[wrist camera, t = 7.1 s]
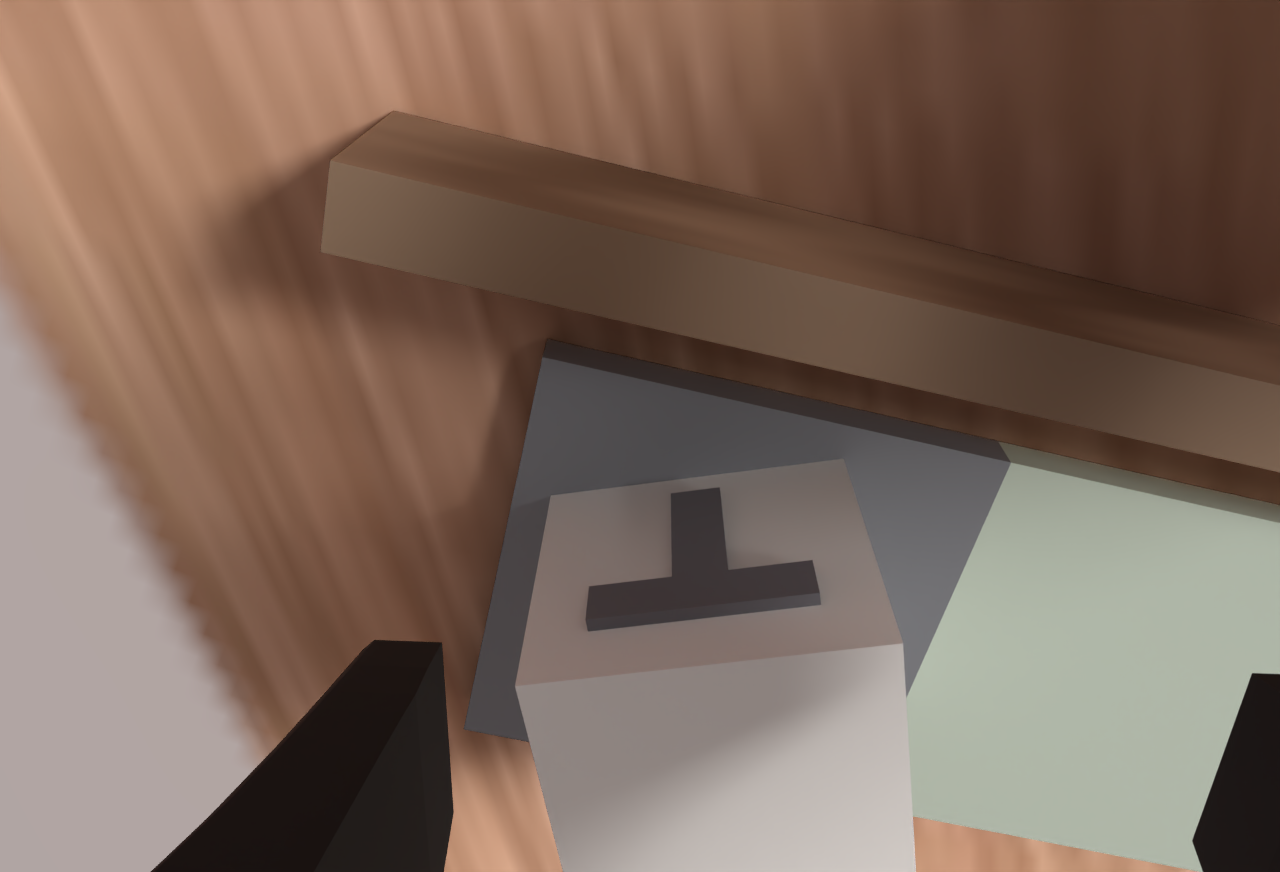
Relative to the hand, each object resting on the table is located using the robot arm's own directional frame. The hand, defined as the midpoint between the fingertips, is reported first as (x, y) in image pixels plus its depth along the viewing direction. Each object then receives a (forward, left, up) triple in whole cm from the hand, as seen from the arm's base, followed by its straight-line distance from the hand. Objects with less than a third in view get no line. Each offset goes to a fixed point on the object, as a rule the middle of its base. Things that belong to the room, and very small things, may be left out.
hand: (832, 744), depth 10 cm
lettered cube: (0, +4, -9) cm, 10 cm away
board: (-5, +5, -9) cm, 11 cm away
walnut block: (-4, -2, -9) cm, 10 cm away
